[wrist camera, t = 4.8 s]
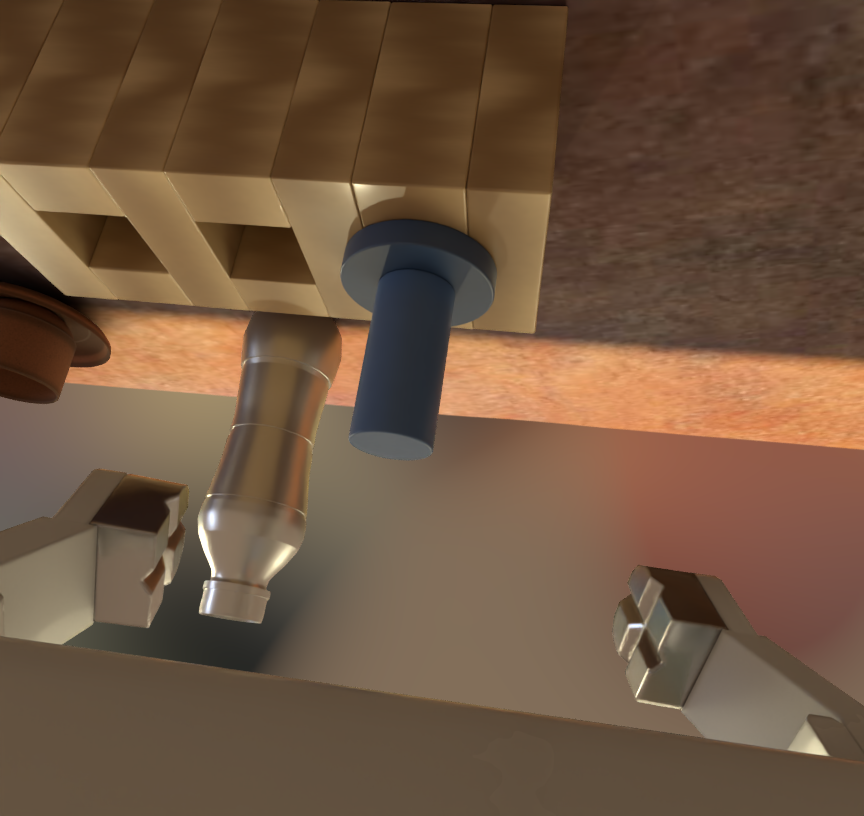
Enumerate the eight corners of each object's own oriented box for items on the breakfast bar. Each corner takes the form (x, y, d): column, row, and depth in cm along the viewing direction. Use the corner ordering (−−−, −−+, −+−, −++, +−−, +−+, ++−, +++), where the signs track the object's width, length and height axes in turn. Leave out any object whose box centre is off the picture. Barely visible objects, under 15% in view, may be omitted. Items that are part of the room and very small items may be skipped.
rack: (569, 4, 24) (552, 193, 21) (549, 180, 32) (534, 334, 29) (3, -9, 26) (-83, 157, 23) (118, 157, 34) (64, 295, 31)
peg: (515, 84, 25) (473, 424, 20) (510, 190, 30) (477, 480, 25) (361, 78, 25) (285, 406, 21) (383, 183, 30) (326, 464, 26)
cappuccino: (-64, 303, 53) (-98, 376, 51) (-57, 239, 44) (-98, 324, 42) (98, 359, 59) (75, 426, 57) (135, 313, 50) (109, 391, 48)
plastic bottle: (323, 285, 43) (248, 616, 36) (363, 338, 49) (306, 630, 42) (233, 289, 45) (146, 604, 38) (282, 339, 51) (214, 619, 44)
